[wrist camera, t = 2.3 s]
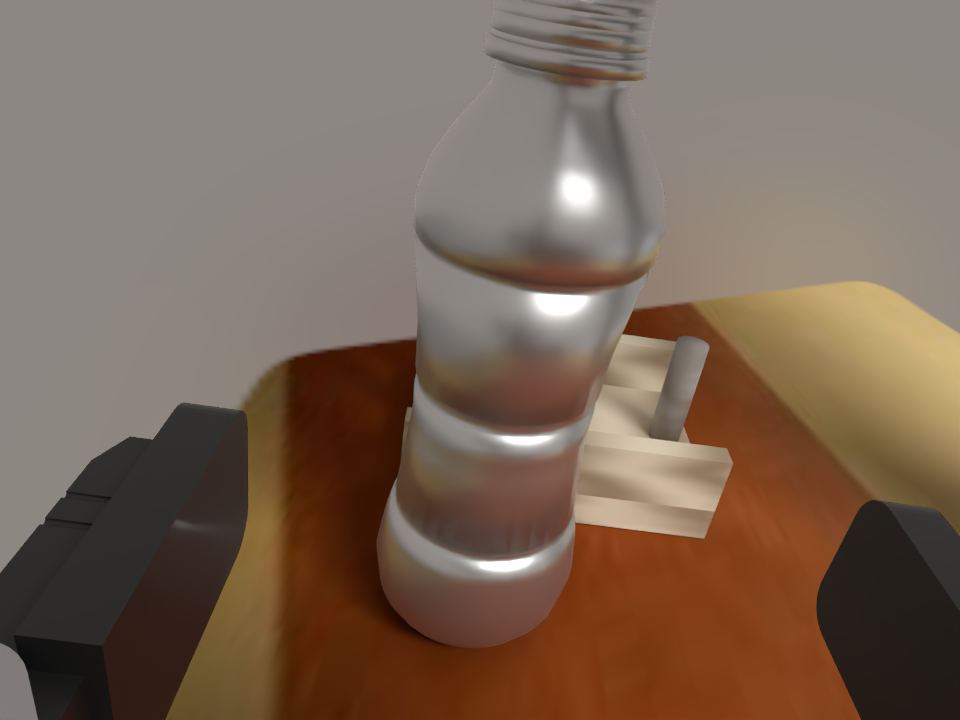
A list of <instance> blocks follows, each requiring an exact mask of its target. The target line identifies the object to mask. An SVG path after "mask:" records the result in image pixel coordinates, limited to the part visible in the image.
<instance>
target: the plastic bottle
mask: <svg viewBox="0 0 960 720" xmlns="http://www.w3.org/2000/svg"><path fill="white" fill-rule="evenodd" d="M657 8H658V2H657V0H494V5H493V13H492V22H491V30H488V31H486V36H485V44H484V53H485V54H486V55H488V56H490V57H492V58H495V59H496V63H495V68H494V72H493V75H492V79H491V82H490V83H489V84H488V85H487V86H486V87H485V88H484V89H483V90H482V92H481V93H480V94H479V95H478V96H477V97H476V98H475V99H474V100H473V101H472V102H471V104H470V105H469V106H468V107H467V108H466V109H465V110H464V111H463V112H462V113H461V114H460V115H459V117H458V118H457V119H456V120H455V121H454V123H453V124H452V125H451V127H450V128H449V129H448V131H447V132H446V133H445V135H444V136H443V137H442V139H441V140H440V142H439V143H438V144H437V145H436V147H435V148H434V149H433V151H432V152H431V154H430V156H429V159H428V161H427V164H426V166H425V168H424V171H423V173H422V176H421V178H420V180H419V183H418V185H417V188H416V190H415V207H414V228H415V232H416V234H415V260H416V283H417V307H418V331H417V346H416V362H415V366H416V376H415V380H414V396H413V409H412V413H411V418H410V422H409V427H408V431H407V436H406V441H405V445H404V450H403V454H402V459H401V463H400V468H399V472H398V477H397V479H396V480H395V482H394V484H393V487H392V489H391V492H390V494H389V497H388V499H387V503H386V506H385V510H384V514H383V517H382V521H381V524H380V528H379V532H378V536H377V557H378V565H379V573H380V580H381V584H382V588H383V591H384V594H385V596H386V598H387V599H388V601H389V603H390V604H391V606H392V607H393V609H394V610H395V611H396V612H397V613H398V614H399V615H400V616H401V617H402V618H403V619H404V620H405V621H406V622H407V623H408V624H409V625H410V626H411V627H412V628H414V629H415V630H417V631H418V632H420V633H421V634H422V635H424V636H426V637H428V638H430V639H432V640H434V641H436V642H439V643H442V644H446V645H449V646H453V647H460V648H469V649H473V648H488V647H492V646H497V645H501V644H504V643H506V642H508V641H511V640H513V639H516V638H518V637H520V636H523V635H525V634H527V633H528V632H530V631H531V630H533V629H534V628H536V627H537V626H539V625H540V624H541V622H542V621H543V620H544V619H545V618H546V617H547V616H548V615H549V613H550V611H551V610H552V608H553V606H554V604H555V602H556V601H557V599H558V597H559V595H560V593H561V591H562V590H563V588H564V586H565V584H566V582H567V580H568V578H569V575H570V570H571V566H572V558H573V549H574V539H575V512H574V506H575V500H576V494H577V488H578V482H579V475H580V469H581V463H582V457H583V451H584V445H585V439H586V434H587V431H588V428H589V425H590V422H591V419H592V416H593V413H594V409H595V402H596V401H597V400H598V398H599V395H600V392H601V389H602V386H603V383H604V380H605V377H606V374H607V371H608V368H609V365H610V362H611V359H612V356H613V353H614V351H615V349H616V347H617V344H618V342H619V340H620V338H621V335H622V333H623V331H624V329H625V327H626V324H627V322H628V320H629V318H630V315H631V313H632V311H633V309H634V306H635V304H636V302H637V300H638V297H639V295H640V293H641V291H642V289H643V286H644V284H645V282H646V280H647V277H648V272H649V270H650V269H651V268H652V266H653V265H654V262H655V259H656V256H657V253H658V250H659V247H660V244H661V242H662V239H663V237H664V233H665V192H664V189H663V186H662V183H661V180H660V177H659V174H658V170H657V167H656V164H655V161H654V158H653V155H652V153H651V150H650V148H649V146H648V143H647V141H646V139H645V137H644V134H643V132H642V130H641V128H640V125H639V123H638V121H637V118H636V116H635V114H634V112H633V109H632V107H631V105H630V103H631V101H630V100H631V86H632V81H638V80H643V79H646V77H647V74H648V69H649V65H650V60H651V57H649V56H648V55H647V53H648V49H649V44H650V40H651V35H652V30H653V26H654V21H655V16H656V12H657Z"/></svg>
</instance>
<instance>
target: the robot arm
mask: <svg viewBox="0 0 960 720" xmlns="http://www.w3.org/2000/svg"><path fill="white" fill-rule="evenodd" d="M66 492H67V494H66V497H65V498H61V499H60V500H59V501H58V502H57V504H56V505H55V506H54V507H53V509H52V510H51V511H50V512H49V514H48V515H47V516H46V518H45V523H44V524H43V525H39V526H38V527H37V528H36V530H35V531H34V532H33V533H32V535H31V536H30V537H29V538H28V540H27V541H26V542H25V543H24V545H23V546H22V547H21V548H20V550H19V551H18V552H17V553H16V555H15V556H14V557H13V558H12V559H11V561H10V562H9V563H8V564H7V566H6V567H5V568H4V569H3V570H2V572H1V573H0V720H165V719H166V716H167V714H168V712H169V709H170V707H171V705H172V703H173V700H174V698H175V696H176V694H177V691H178V689H179V687H180V684H181V682H182V680H183V678H184V675H185V673H186V671H187V669H188V666H189V664H190V662H191V660H192V657H193V655H194V653H195V650H196V648H197V646H198V644H199V641H200V639H201V637H202V635H203V632H204V630H205V628H206V626H207V623H208V621H209V619H210V616H211V614H212V612H213V610H214V607H215V605H216V603H217V601H218V598H219V596H220V594H221V591H222V589H223V587H224V585H225V582H226V580H227V578H228V576H229V573H230V571H231V569H232V567H233V564H234V562H235V560H236V557H237V555H238V553H239V550H240V547H241V543H242V540H243V536H244V532H245V527H246V521H247V513H248V427H247V418H246V414H245V412H244V411H241V410H234V409H226V408H219V407H212V406H204V405H197V404H190V403H181V404H180V405H178V406H177V407H176V409H175V410H174V411H173V413H172V414H171V415H170V417H169V418H168V420H167V421H166V422H165V424H164V425H163V427H162V428H161V429H160V431H159V432H158V434H157V435H156V436H155V438H154V439H153V440H151V439H143V438H136V437H129V438H127V439H125V440H124V441H122V442H120V443H119V444H117V445H116V446H114V447H112V448H111V449H109V450H108V451H106V452H104V453H103V454H101V455H99V456H98V457H96V458H94V459H93V460H91V462H90V463H89V464H88V465H87V466H86V468H85V469H84V470H83V472H82V473H81V474H80V475H79V476H78V478H77V479H76V480H75V481H74V483H73V484H72V485H71V486H70V488H69V489H68V490H67V491H66ZM817 619H818V624H819V628H820V631H821V633H822V636H823V638H824V640H825V642H826V644H827V647H828V649H829V651H830V653H831V655H832V657H833V659H834V662H835V664H836V666H837V668H838V670H839V672H840V675H841V677H842V679H843V681H844V683H845V685H846V688H847V690H848V692H849V694H850V696H851V698H852V701H853V703H854V705H855V707H856V709H857V711H858V714H859V716H860V718H861V720H960V537H959V535H958V534H957V533H956V532H955V530H954V529H953V528H952V526H951V525H950V524H949V522H948V521H947V520H946V519H945V517H944V516H943V515H942V514H941V513H940V512H938V511H937V510H935V509H933V508H928V507H921V506H913V505H906V504H899V503H892V502H885V501H877V500H872V501H869V502H867V503H865V504H864V505H863V506H862V507H861V508H860V509H859V511H858V512H857V514H856V516H855V518H854V520H853V522H852V524H851V526H850V528H849V530H848V532H847V534H846V535H845V537H844V539H843V541H842V543H841V545H840V547H839V549H838V551H837V553H836V555H835V557H834V559H833V561H832V563H831V564H830V566H829V568H828V570H827V572H826V574H825V576H824V578H823V580H822V582H821V584H820V587H819V591H818V596H817Z"/></svg>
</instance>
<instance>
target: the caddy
mask: <svg viewBox="0 0 960 720" xmlns="http://www.w3.org/2000/svg"><path fill="white" fill-rule="evenodd" d="M708 351H709V345H708V344H707V343H706V342H705V341H703V340H701V339H699V338H696V337H692V336H680V337H678V339H677V342H675V341H668V340H661V339H653V338H646V337H639V336H631V335H624V334H622V335H621V338H620V340H619V342H618V344H617V347H616V349H615V351H614V353H613V356H612V359H611V362H610V365H609V368H608V371H607V374H606V377H605V380H604V383H603V386H602V389H601V392H600V395H599V398H598V400H597V401H596V402H595V409H594V413H593V416H592V419H591V422H590V425H589V428H588V431H587V434H586V439H585V445H584V451H583V457H582V463H581V469H580V475H579V482H578V488H577V494H576V500H575V506H574V512H575V523H583V524H591V525H599V526H607V527H615V528H623V529H631V530H639V531H647V532H655V533H663V534H671V535H679V536H687V537H695V538H703V539H704V538H705V535H706V533H707V530H708V527H709V525H710V522H711V520H712V517H713V515H714V512H715V509H716V507H717V504H718V502H719V499H720V496H721V494H722V491H723V489H724V486H725V484H726V481H727V478H728V476H729V473H730V471H731V468H732V466H733V462H732V460H731V457H730V455H729V453H728V450H727V448H720V447H712V446H704V445H697V444H690V442H689V439H688V436H687V434H686V431H685V428H684V423H685V420H686V417H687V414H688V411H689V408H690V405H691V402H692V399H693V396H694V393H695V390H696V387H697V384H698V381H699V378H700V375H701V372H702V369H703V366H704V363H705V360H706V357H707V354H708ZM412 409H413V406H412V407H407V412H406V417H405V422H404V432H403V442H402V451H401V459H402V454H403V450H404V445H405V441H406V436H407V431H408V427H409V422H410V418H411V413H412ZM400 463H401V461H400Z"/></svg>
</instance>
